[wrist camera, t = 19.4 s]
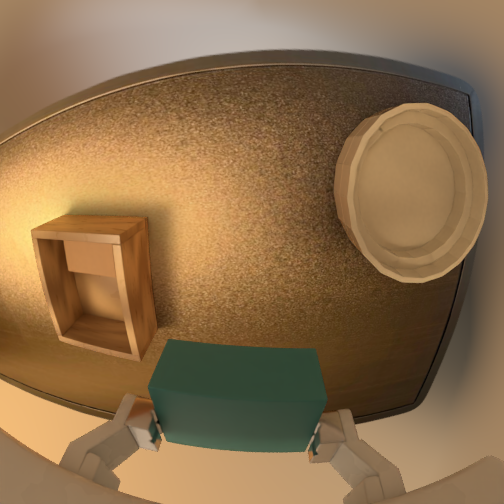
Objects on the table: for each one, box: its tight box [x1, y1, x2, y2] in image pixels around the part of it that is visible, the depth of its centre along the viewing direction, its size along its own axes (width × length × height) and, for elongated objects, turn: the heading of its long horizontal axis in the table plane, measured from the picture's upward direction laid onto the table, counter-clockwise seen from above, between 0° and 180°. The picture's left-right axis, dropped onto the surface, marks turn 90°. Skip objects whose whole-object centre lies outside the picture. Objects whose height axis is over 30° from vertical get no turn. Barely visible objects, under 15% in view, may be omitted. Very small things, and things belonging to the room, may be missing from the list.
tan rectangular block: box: [63, 240, 117, 278], centre depth 23 cm, size 4×6×3 cm, turn 86°
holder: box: [31, 215, 158, 362], centre depth 23 cm, size 13×11×6 cm
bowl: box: [333, 103, 488, 283], centre depth 20 cm, size 15×15×4 cm
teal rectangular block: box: [148, 339, 328, 452], centre depth 10 cm, size 4×6×3 cm, turn 87°
